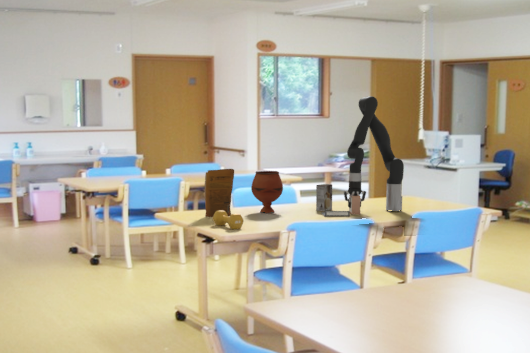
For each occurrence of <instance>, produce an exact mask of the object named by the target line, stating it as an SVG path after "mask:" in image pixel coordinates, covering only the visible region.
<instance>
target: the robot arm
mask: <svg viewBox="0 0 530 353" xmlns="http://www.w3.org/2000/svg"><path fill="white" fill-rule="evenodd" d="M378 104H379V102H378V100H377V98H376V97H375V96H364V97H361V98H360V99H359V100H358V107H359V110H360V112H361V114H362V118H361V120H360V122H359V124H357V126H356V129H355V131H354V135H353V139H352V140H351V143H350V145H349V146H348V148H347V154H346V155H347V157H348V158H349V159H351V160H354V161H353V162H351V163H349V174H348V189H347V190H344V191H343V196H344V201H346V202H347V206H348V209H349V208H351V197H352V196H360V208H361V207H362V202H364V201H365V199H366V195H367V191H366V190H362V164H363V162H364V158H365V151H364V149H363V148H362V147H360V146H362V145H364V144H365V142H366V138H367V134H368V131H369V130H370V133H371V135H372V137H373V140H374V141H375V143H376V146H377V147H378V151H379V152H380V154H381V158H382V160H383V163H384V167H385V169H386V170H387V171H388V172H389V175H388V178H386V198H385V211H386V210H392V211H399V210H402V211H403V196H402V186H403V185H402V182H403V180H404V171H405V170H404V168H405V167H404V166H405V165H404V161H403V160H402V159H401V158H398V157H396V156H395V154H394V152H393V150H392V147H391V145H392V144H391V137H390V134H389V132H388V129H387V128H386V126H385V124H383V122H382V121H381V120H379V118H378V117H377V116H376V114H375V113H376V110H377V108H378ZM348 194H349V195H351V196H348ZM361 195H362V196H361ZM399 212H400V211H399Z"/></svg>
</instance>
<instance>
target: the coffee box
mask: <svg viewBox="0 0 530 353" xmlns="http://www.w3.org/2000/svg"><path fill="white" fill-rule="evenodd" d="M315 187H316V193H315V194H316V195H315V196H316V198H315V202H316V205H315V209H316V210H315V211H321V212H325V211H333V184H330V183H323V184H322V183H321V184H316V186H315Z"/></svg>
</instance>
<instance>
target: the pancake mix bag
mask: <svg viewBox="0 0 530 353" xmlns="http://www.w3.org/2000/svg"><path fill="white" fill-rule="evenodd" d="M204 175H205V176H204V202H205V205H204V207H205V215H204V216H205V217H207V218H213V216H214V214H215V212H216V211H219V210H223V211H225V212H226V213H227V215H228V217H230V215H231V214H232V212H231V206H232V205H231V203H232V193H233V188H234V179H235V169H233V168H221V169H208V170H207V171H206V172H205V174H204ZM205 217H204V218H205Z"/></svg>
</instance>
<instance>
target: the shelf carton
mask: <svg viewBox="0 0 530 353" xmlns="http://www.w3.org/2000/svg"><path fill="white" fill-rule="evenodd" d="M349 196H351V195H350V194H349ZM349 196H348V197H349ZM360 198H361V195H360V196H352V197H351V208H349V207H348V211H350V214H351V215H361V207H360Z"/></svg>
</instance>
